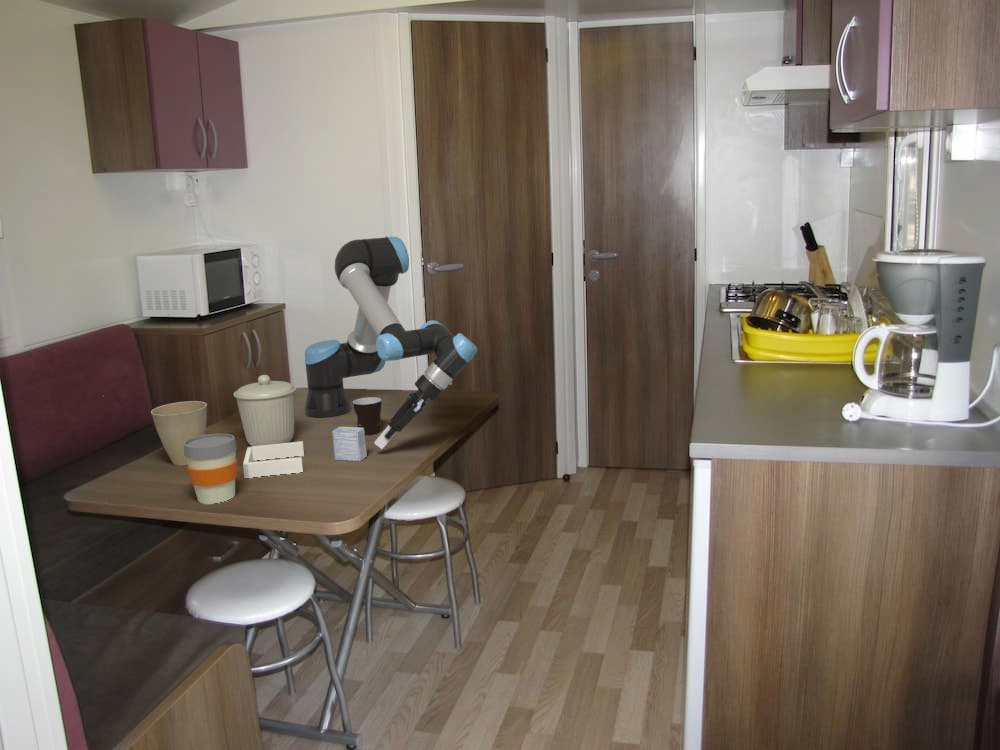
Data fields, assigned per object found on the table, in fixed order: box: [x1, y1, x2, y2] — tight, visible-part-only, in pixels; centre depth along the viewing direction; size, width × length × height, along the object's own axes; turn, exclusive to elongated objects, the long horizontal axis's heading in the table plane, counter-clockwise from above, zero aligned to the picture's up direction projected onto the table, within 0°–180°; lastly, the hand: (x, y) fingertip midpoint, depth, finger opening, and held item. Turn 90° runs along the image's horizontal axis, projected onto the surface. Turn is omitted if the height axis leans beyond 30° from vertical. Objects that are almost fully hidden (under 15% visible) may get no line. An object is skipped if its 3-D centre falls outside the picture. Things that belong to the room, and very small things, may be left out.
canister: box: [233, 374, 297, 447], centre depth 269 cm, size 18×18×21 cm
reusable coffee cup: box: [184, 432, 238, 505], centre depth 226 cm, size 13×13×15 cm
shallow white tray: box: [242, 440, 305, 479], centre depth 250 cm, size 16×15×4 cm
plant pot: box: [150, 400, 208, 467], centre depth 257 cm, size 15×15×16 cm
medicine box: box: [331, 426, 368, 462], centre depth 253 cm, size 8×4×9 cm, turn 71°
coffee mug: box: [352, 396, 382, 436], centre depth 279 cm, size 12×9×10 cm
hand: (378, 445), depth 254 cm, fingers closed
